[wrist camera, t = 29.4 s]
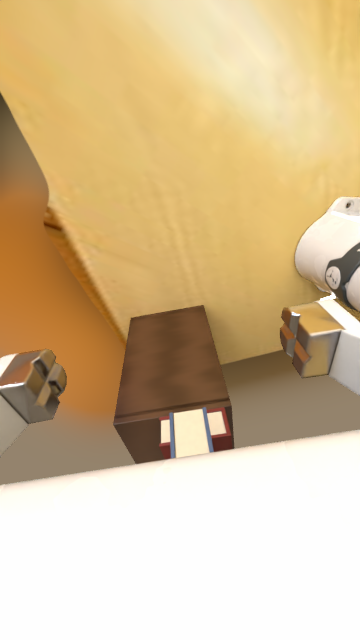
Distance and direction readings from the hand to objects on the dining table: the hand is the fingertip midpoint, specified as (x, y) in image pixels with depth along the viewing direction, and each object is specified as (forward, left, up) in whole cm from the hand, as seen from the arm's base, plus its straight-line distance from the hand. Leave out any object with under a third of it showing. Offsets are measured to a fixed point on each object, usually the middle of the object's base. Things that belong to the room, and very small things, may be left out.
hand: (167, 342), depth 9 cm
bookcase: (+4, +30, -39) cm, 49 cm away
